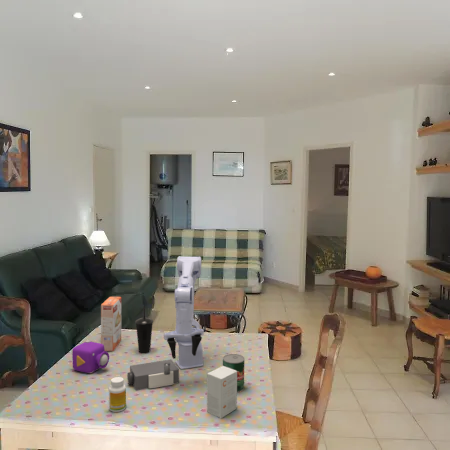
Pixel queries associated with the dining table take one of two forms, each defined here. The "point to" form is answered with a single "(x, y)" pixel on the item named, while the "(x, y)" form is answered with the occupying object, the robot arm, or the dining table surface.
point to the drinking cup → (144, 333)
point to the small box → (221, 391)
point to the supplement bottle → (117, 395)
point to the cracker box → (111, 323)
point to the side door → (161, 378)
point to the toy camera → (89, 357)
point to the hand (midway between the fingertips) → (183, 356)
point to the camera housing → (149, 373)
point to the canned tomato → (236, 368)
